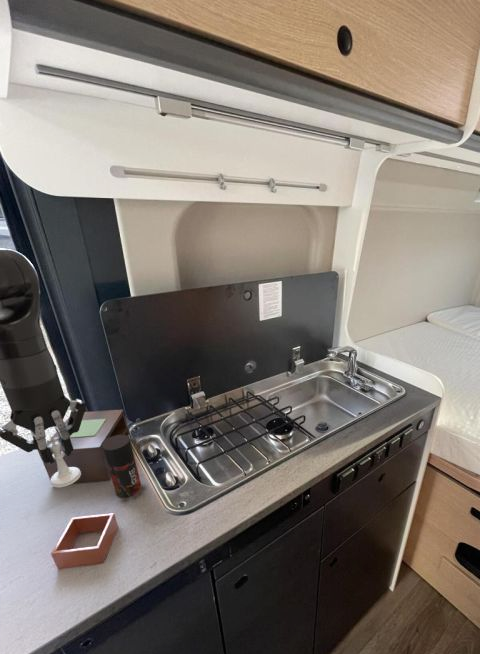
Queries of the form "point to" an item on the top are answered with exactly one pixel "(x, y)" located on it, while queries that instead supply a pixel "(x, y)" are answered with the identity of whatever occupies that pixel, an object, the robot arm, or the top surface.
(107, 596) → the top surface
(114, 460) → the deodorant
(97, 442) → the green-topped wooden plinth
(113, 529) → the reddish-brown hollow diamond-shaped frame
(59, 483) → the chess piece
